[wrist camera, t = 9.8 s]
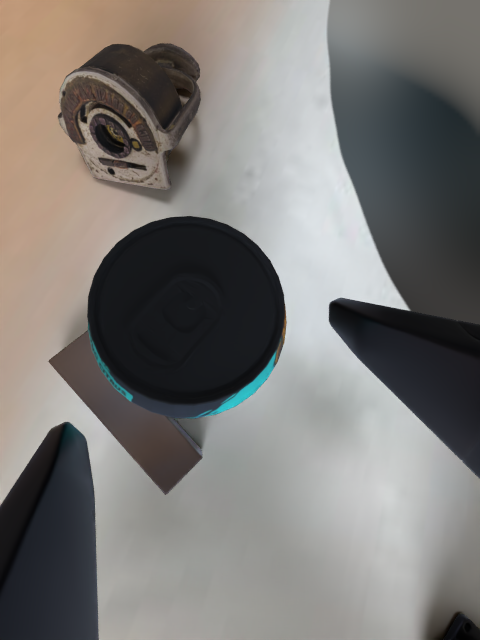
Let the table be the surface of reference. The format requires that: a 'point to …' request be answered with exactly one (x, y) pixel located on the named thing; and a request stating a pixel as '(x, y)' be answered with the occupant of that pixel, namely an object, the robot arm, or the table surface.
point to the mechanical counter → (130, 111)
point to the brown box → (128, 418)
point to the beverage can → (186, 317)
